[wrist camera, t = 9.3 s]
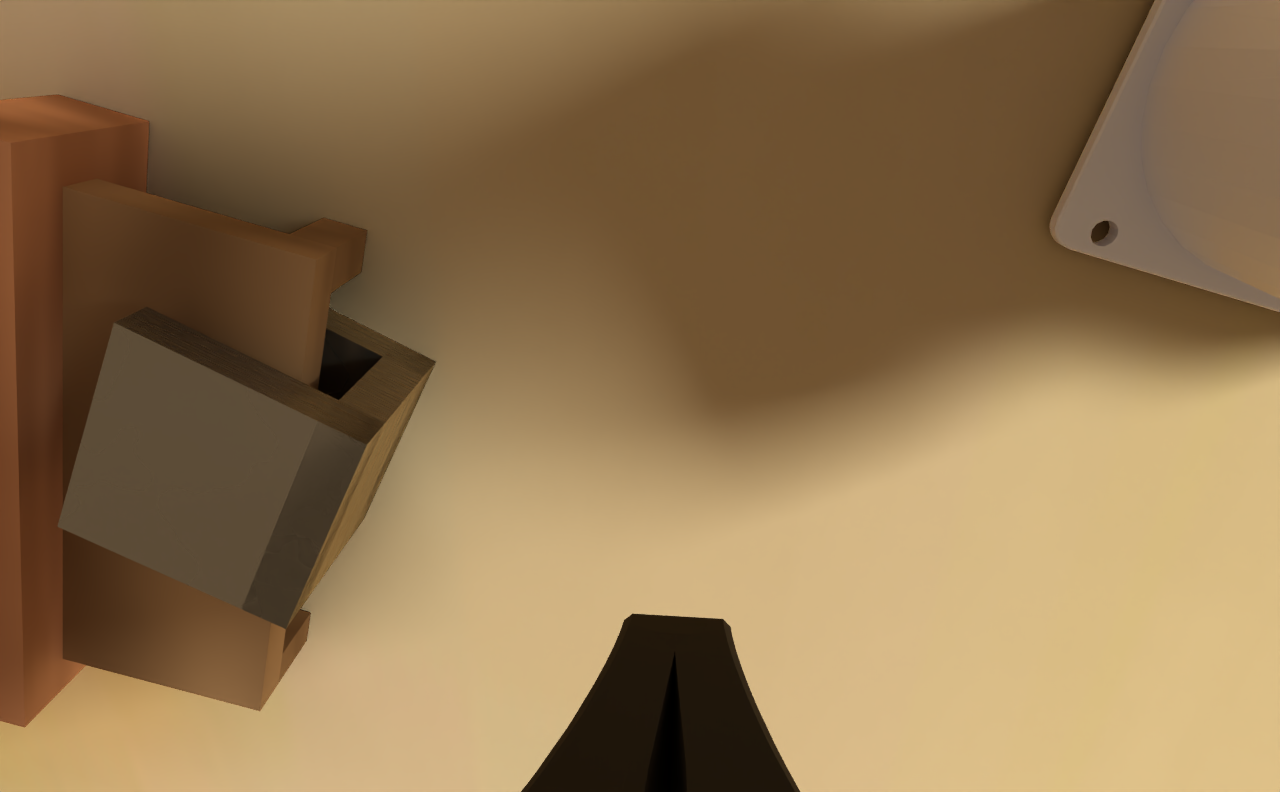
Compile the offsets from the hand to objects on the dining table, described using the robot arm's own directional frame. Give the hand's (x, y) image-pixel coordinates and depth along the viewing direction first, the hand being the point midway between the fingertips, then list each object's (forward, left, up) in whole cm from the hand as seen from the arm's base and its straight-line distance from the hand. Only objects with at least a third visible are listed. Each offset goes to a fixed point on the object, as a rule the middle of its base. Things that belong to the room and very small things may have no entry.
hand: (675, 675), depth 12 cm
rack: (+12, +4, -9) cm, 15 cm away
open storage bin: (+9, +3, -9) cm, 13 cm away
